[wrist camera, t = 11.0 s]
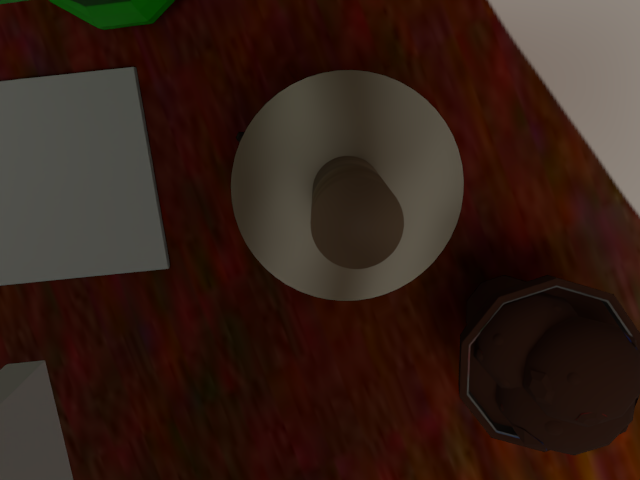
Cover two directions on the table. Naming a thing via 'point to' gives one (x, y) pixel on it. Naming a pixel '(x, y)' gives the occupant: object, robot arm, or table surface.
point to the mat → (77, 179)
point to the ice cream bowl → (549, 364)
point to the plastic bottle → (113, 11)
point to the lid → (347, 185)
